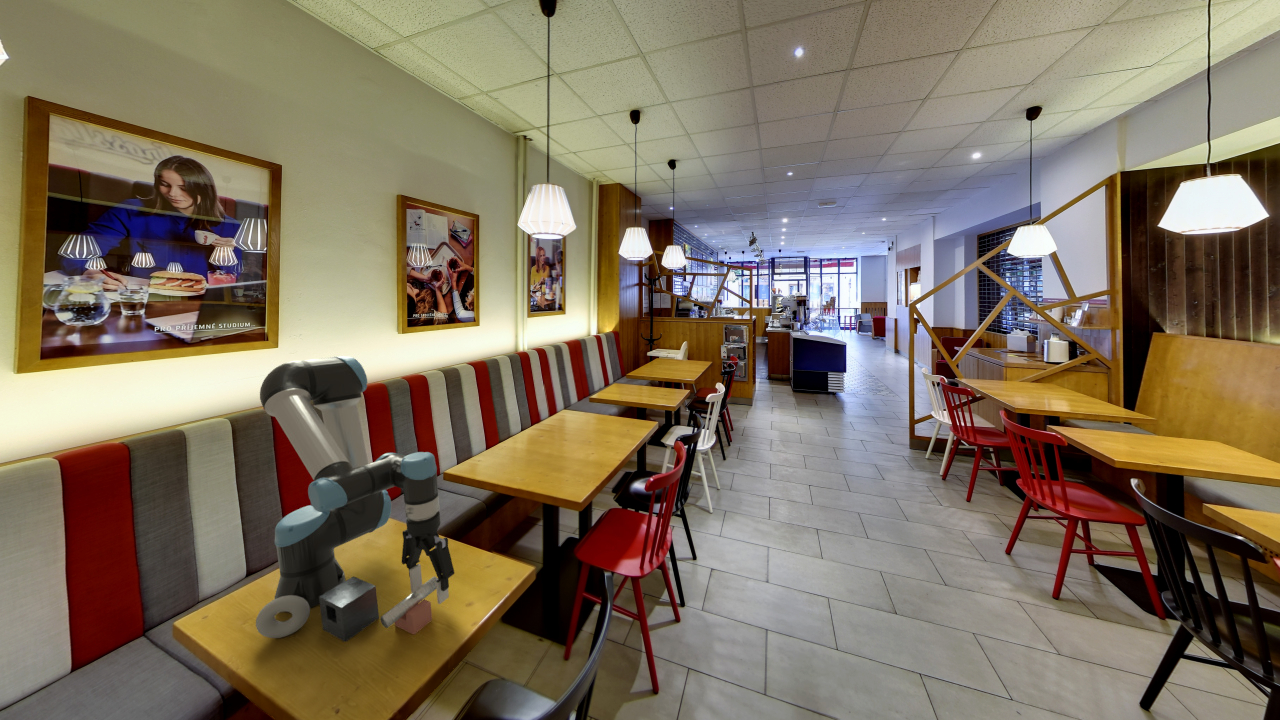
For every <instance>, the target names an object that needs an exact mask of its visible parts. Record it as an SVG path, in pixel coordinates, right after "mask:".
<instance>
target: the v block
mask: <svg viewBox="0 0 1280 720" xmlns="http://www.w3.org/2000/svg"><path fill="white" fill-rule="evenodd" d="M432 615H433V614H432V602H431V601H429V600H427V599H425V598H424V599H423V600H422V601H421V602H419V603H418V604H417V605H416V606H414V607H413V608H412V609H411V610H409V611H408V612H407V613H406V614H404V615H403V616H402V617H401V618H399V619H398V620H397V621H396V622H394V623H393V624H394V626H395V627H397V628H399V629H401V630H404V631H406V632H407V633H409V634H412V635H416V634H417V633H418V632H419V631H421V629H423V628H424V627H425V626H426V625H428V624H429V623H430V622H431V621H433V616H432Z"/></svg>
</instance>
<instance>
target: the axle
mask: <svg viewBox="0 0 1280 720" xmlns="http://www.w3.org/2000/svg"><path fill="white" fill-rule="evenodd" d="M436 579H438V577H437V576H432V577H431V578H430V579H428V580H427V581H426V582H425V583H422V586H421V587H419V588H418V589H417V590H415V591H414V592H413V593H412V592H410V593H409V595H407V596H406V597H405V598H404V599H402V600H401V601H400V602H398V603H397V604H395V605H394V606H393V607H392V608H391V609H389V610H388V611H386V612H385V613H384V614H383V615H381V616H380V617H379V620H380V623H381V625H382V626H383V627H384V628H386V629H388V628H389V627H391V626H392V625H393V624H395V623H394V622H396V621H397V620H398V619H399V618H401V617H402V616H403V615H404V614H406V613H407V612H408V611H409V610H411V609H412V608H413V607H414V606H416V605H417V604H419V603H420V602H421V601H423V600H424V599H425V598H427V597H429V595H430V594H432V593H433V592H434V591H437V588H436Z"/></svg>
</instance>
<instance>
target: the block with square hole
mask: <svg viewBox="0 0 1280 720" xmlns="http://www.w3.org/2000/svg"><path fill="white" fill-rule="evenodd" d="M377 594H378V593H377V586H376V585H374V584H372V583H371V582H368V581H366V580H363V579H360V578H358V577H356V576H352V577H350V578H348V579H345V582H343V583H341V584H340V585H338V586H336V587H334V588H333V589H331V590H329V591H328V592H326V593H324V594H322V595H321V596H319V602H320V604H319V609H320V610H319V611H320V616H321V625H322V630H323V631H324V632H327V634H330V635H332V636H333V637H336V639H339V640H341V641H343V642H344V643H346V642H348V641H349V640H351V639H352V638H354V637H355V636H356V635H358V634H359V633H360V632H362V631H363V630H365V629H366V628H367V627H369V626H370V625H372V624H373V623H374V622H375V621H377V620H378V619H380V613H379V603H378V595H377Z"/></svg>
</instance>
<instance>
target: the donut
mask: <svg viewBox="0 0 1280 720" xmlns="http://www.w3.org/2000/svg"><path fill="white" fill-rule="evenodd" d="M284 611H287V612H286V613H290V614H291V617H290V618H289V619H288V620H285V621H284V620H283V621H281V620H277V619H276V616H277V614H280V613H285V612H284ZM310 611H311V608H310V606H309V604H308V602H307V601H306V600H305V599H304V598H302V597H299V596H294V595H288V596H282V597H279V598H277V599H275V598H274V599H272V600H271V601H270V602H268V603H266V604H265V605H264V606H263V607H262V608H261V610H260V611H259V612H258V614H257V616H256V619H255V627H256V630H257V632H258V633H259V634H260V635H261V636H263V637H265V638H268V639H280V638H284V637H288V636H290V635H292V634H294V633H295V632H297V631H298V630H300V629H301V628H302V627H303V626H304V625H305V624H306V623H307V621H308V618H309V617H310V613H311V612H310Z"/></svg>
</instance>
